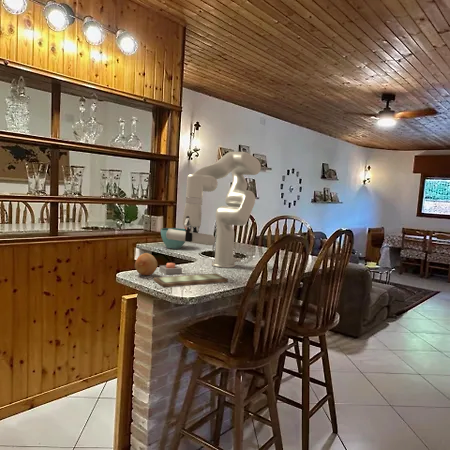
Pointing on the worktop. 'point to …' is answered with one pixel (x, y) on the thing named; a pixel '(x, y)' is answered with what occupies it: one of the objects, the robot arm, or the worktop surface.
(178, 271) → the button housing
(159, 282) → the board
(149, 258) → the onion
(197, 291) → the worktop surface
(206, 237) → the tube
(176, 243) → the plant pot
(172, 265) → the button
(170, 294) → the worktop surface
